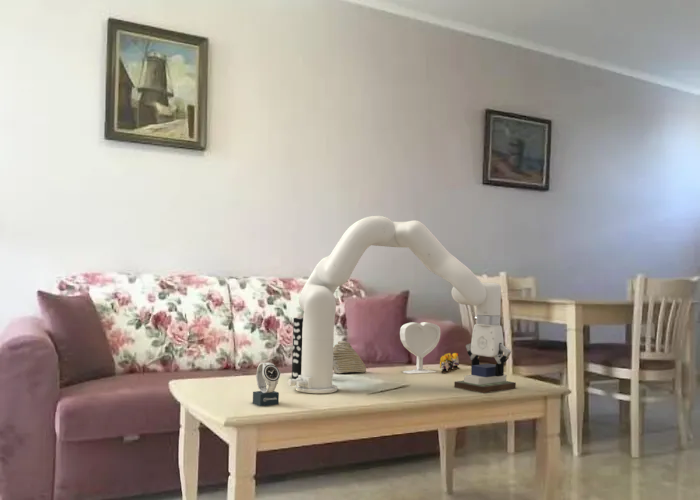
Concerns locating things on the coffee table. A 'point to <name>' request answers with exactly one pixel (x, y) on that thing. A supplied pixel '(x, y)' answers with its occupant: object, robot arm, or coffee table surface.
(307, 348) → the robot arm
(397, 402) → the coffee table surface
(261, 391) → the watch
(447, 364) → the figurine set
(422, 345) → the heart sculpture
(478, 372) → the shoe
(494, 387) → the green brown rectangular slab
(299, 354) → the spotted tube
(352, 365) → the fossil tooth
